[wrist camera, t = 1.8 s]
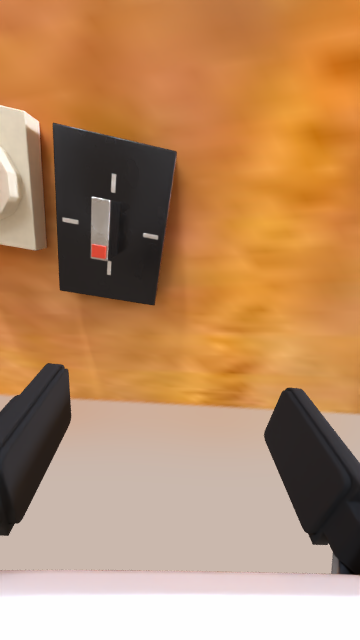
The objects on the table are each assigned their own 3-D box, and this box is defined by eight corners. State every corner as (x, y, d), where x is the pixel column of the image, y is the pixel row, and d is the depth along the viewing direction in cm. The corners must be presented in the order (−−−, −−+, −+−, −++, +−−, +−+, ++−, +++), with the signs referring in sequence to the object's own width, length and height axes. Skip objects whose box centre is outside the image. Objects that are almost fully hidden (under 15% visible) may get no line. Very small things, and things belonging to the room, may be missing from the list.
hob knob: (104, 199, 20) (90, 196, 16) (120, 203, 20) (109, 200, 16) (102, 252, 22) (89, 258, 18) (117, 254, 22) (106, 262, 18)
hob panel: (68, 135, 20) (51, 121, 17) (176, 160, 21) (176, 150, 18) (71, 282, 26) (58, 291, 23) (156, 296, 27) (154, 306, 24)
